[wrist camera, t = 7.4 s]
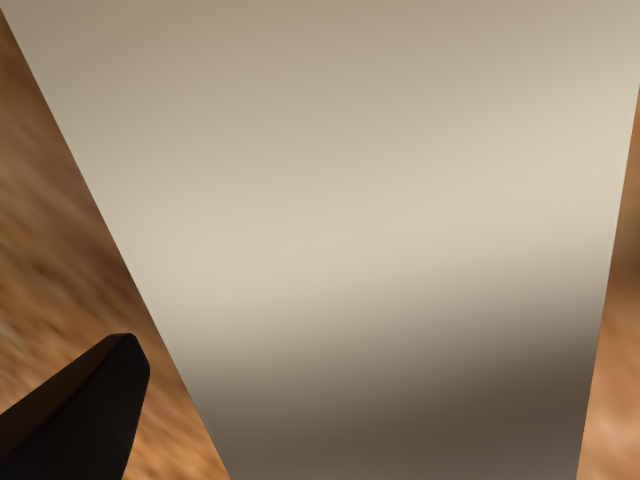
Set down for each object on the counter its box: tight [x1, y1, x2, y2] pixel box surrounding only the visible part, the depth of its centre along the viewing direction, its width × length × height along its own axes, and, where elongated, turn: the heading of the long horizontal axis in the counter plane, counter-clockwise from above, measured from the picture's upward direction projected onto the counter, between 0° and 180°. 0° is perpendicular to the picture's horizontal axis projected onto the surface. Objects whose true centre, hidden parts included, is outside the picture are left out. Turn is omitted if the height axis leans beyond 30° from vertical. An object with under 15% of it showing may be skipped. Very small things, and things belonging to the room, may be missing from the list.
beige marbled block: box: [0, 0, 640, 480], centre depth 8 cm, size 16×5×4 cm, turn 11°
